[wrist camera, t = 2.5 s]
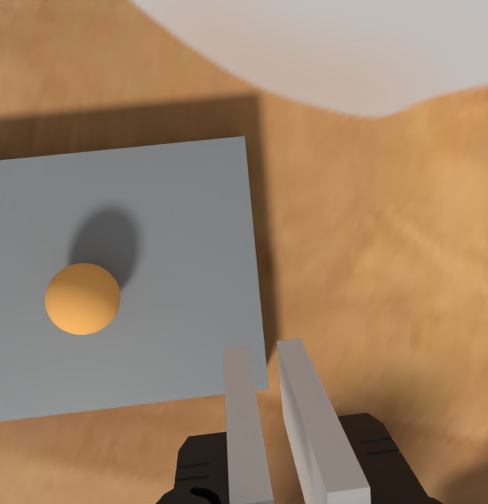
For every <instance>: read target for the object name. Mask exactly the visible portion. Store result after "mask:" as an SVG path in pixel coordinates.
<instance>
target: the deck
mask: <svg viewBox="0 0 488 504" xmlns="http://www.w3.org/2000/svg"><path fill="white" fill-rule="evenodd" d="M78 263H90V264H95V265H98V266H100V267H102V268H104V269H105V270H107V271H108V272H109V273H110V274H111V275H112V276H113V277H114V279H115V280H116V282H117V284H118V286H119V289H120V296H121V299H120V306H119V309H118V312H117V314H116V316H115V317H114V319H113V320H112V321H111V322H110V323H109V324H108V325H107V326H106V327H105V328H103V329H101V330H100V331H97V332H95V333H92V334H87V335H76V334H71V333H68V332H66V331H64V330H62V329H60V328H59V327H58V326H56V325H55V324H54V323H53V321H52V320H51V319H50V317H49V315H48V313H47V311H46V307H45V294H46V290H47V287H48V285H49V283H50V281H51V280H52V278H53V277H54V276H55V275H56V274H57V273H58V272H59V271H61V270H62V269H64V268H66V267H68V266H70V265H73V264H78ZM239 345H247V346H248V352H249V357H250V363H251V369H252V375H253V381H254V387H255V391H256V390H265V389H269V387H268V376H267V366H266V355H265V345H264V334H263V323H262V313H261V302H260V292H259V281H258V271H257V260H256V250H255V239H254V228H253V218H252V207H251V197H250V186H249V176H248V165H247V155H246V144H245V136H240V137H230V138H220V139H210V140H200V141H190V142H180V143H170V144H160V145H150V146H139V147H129V148H119V149H109V150H99V151H89V152H79V153H69V154H59V155H48V156H38V157H28V158H18V159H8V160H0V422H1V421H9V420H17V419H26V418H34V417H42V416H50V415H59V414H67V413H75V412H83V411H91V410H100V409H108V408H116V407H124V406H133V405H141V404H149V403H157V402H166V401H174V400H182V399H190V398H199V397H207V396H215V395H223V394H225V381H224V357H223V347H231V346H239Z"/></svg>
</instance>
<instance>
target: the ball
mask: <svg viewBox="0 0 488 504" xmlns="http://www.w3.org/2000/svg"><path fill="white" fill-rule="evenodd" d="M120 299H121V296H120V289H119V286H118V284H117V282H116V280H115V279H114V277H113V276H112V275H111V274H110V273H109V272H108V271H107V270H105V269H104V268H102V267H100V266H98V265H95V264H90V263H78V264H73V265H70V266H68V267H66V268H64V269H62V270H61V271H59V272H58V273H57V274H56V275H55V276H54V277H53V278H52V280H51V281H50V283H49V285H48V287H47V290H46V294H45V307H46V311H47V313H48V315H49V317H50V319H51V320H52V321H53V323H54V324H55V325H56V326H58V327H59V328H60V329H62V330H64V331H66V332H68V333H71V334H76V335H87V334H92V333H95V332H97V331H100V330H101V329H103V328H105V327H106V326H107V325H108V324H109V323H110V322H111V321H112V320H113V319H114V317H115V316H116V314H117V312H118V309H119V306H120Z"/></svg>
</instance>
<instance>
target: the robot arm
mask: <svg viewBox="0 0 488 504" xmlns="http://www.w3.org/2000/svg"><path fill="white" fill-rule="evenodd" d="M277 350H278V361H279V373H280V384H281V395H282V407H283V418H284V423H285V427H286V430H287V434H288V438H289V442H290V446H291V450H292V454H293V457H294V461H295V465H296V469H297V473H298V477H299V481H300V484H301V488H302V492H303V496H304V500H305V504H443V503H441V502H440V501H438V500H436V499H435V498H431V497H428V495H427V494H426V492H425V491H424V489H423V487H422V486H421V484H420V483H419V481H418V479H417V478H416V476H415V475H414V473H413V471H412V470H411V468H410V466H409V465H408V463H407V462H406V460H405V458H404V457H403V455H402V454H401V452H399V449H398V447H397V446H396V444H395V442H394V441H393V440H392V438H391V436H390V434H389V433H388V431H387V430H386V428H385V426H384V425H383V423H381V422H380V421H378V420H377V419H375V418H374V417H373V416H371V415H370V414H368V413H362V414H354V415H346V416H337V415H336V413H335V411H334V409H333V407H332V404H331V402H330V400H329V398H328V396H327V394H326V392H325V389H324V387H323V385H322V383H321V381H320V379H319V376H318V374H317V372H316V370H315V368H314V366H313V364H312V361H311V359H310V357H309V355H308V353H307V351H306V349H305V346H304V344H303V342H302V340H301V338H299V339H290V340H282V341H277ZM223 357H224V381H225V405H226V429H227V432H221V433H213V434H205V435H197V436H189V437H188V438H187V439H186V441H185V442H184V444H183V445H182V447H181V448H180V449H179V451H178V459H177V470H176V475H175V483H174V489H172V490H171V491H169V492H167V493H166V494H164V495H163V496H162V497H161V499H160V500H159V501H158V502H157V503H156V504H274V499H273V493H272V487H271V481H270V475H269V469H268V463H267V458H266V452H265V446H264V440H263V434H262V428H261V422H260V416H259V410H258V405H257V399H256V393H255V387H254V381H253V375H252V369H251V363H250V357H249V352H248V346H247V345H239V346H231V347H223Z"/></svg>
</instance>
